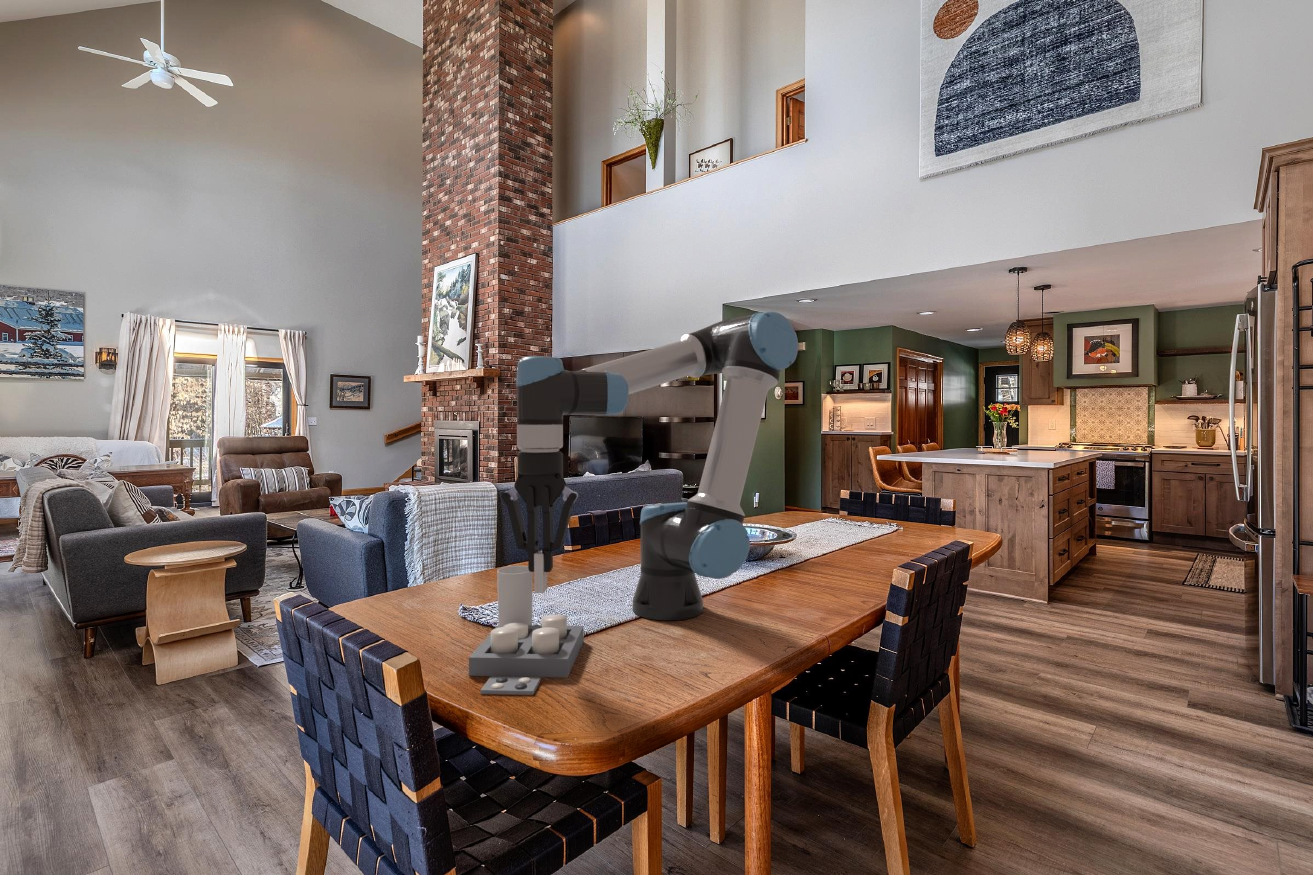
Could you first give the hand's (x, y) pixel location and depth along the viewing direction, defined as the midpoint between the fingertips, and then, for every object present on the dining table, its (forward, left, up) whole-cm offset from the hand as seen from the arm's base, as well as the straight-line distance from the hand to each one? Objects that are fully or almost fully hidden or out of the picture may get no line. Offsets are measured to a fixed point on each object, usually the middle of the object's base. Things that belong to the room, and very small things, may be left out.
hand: (540, 590), depth 107 cm
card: (+3, +9, -13) cm, 16 cm away
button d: (+6, +1, -10) cm, 12 cm away
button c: (-1, +1, -10) cm, 10 cm away
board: (+3, -3, -13) cm, 13 cm away
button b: (+6, -6, -12) cm, 15 cm away
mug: (+10, -18, -13) cm, 24 cm away
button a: (-1, -6, -10) cm, 12 cm away
